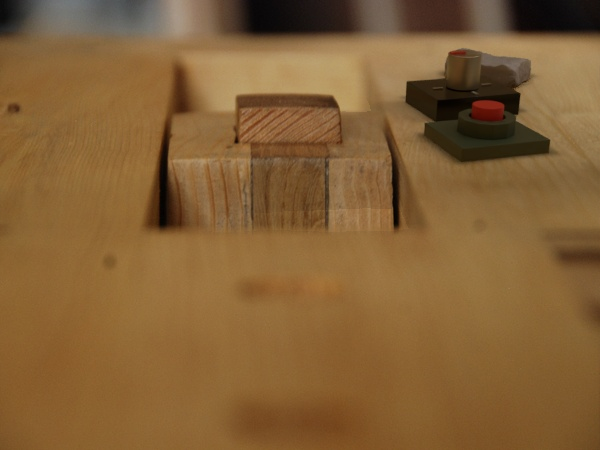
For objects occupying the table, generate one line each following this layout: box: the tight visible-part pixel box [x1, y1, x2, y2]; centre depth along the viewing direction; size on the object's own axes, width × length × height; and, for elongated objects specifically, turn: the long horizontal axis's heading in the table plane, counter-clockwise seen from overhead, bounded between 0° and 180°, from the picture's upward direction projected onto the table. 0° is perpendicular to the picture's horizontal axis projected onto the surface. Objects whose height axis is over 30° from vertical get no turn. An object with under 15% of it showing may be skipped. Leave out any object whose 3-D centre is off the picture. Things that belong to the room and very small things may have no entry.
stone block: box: [444, 47, 532, 89], centre depth 126 cm, size 12×5×10 cm
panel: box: [405, 75, 521, 122], centre depth 111 cm, size 12×10×3 cm
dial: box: [445, 49, 482, 91], centre depth 109 cm, size 4×4×5 cm
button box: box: [423, 109, 551, 163], centre depth 95 cm, size 11×10×4 cm
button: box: [471, 100, 504, 122], centre depth 94 cm, size 4×4×2 cm
